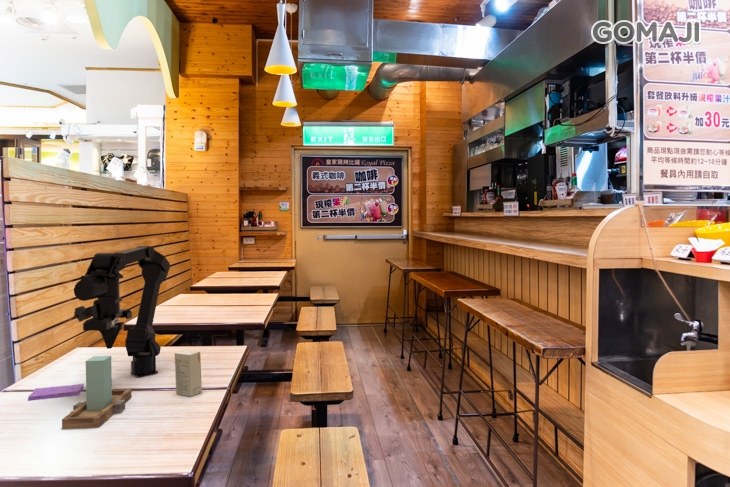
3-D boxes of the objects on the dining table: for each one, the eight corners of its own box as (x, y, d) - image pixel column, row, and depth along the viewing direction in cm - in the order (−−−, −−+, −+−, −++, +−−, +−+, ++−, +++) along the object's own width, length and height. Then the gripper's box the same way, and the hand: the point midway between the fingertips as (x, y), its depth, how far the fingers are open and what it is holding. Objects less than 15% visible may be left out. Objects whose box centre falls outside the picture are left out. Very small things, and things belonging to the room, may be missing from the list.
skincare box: (202, 392, 136) (201, 351, 136) (191, 397, 132) (190, 355, 132) (186, 389, 139) (185, 348, 139) (174, 393, 135) (174, 352, 135)
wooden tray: (94, 398, 131) (94, 389, 131) (137, 397, 132) (137, 388, 132) (55, 429, 111) (54, 418, 111) (105, 427, 113) (105, 416, 112)
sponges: (78, 397, 134) (78, 390, 134) (27, 402, 130) (26, 396, 130) (84, 389, 140) (84, 383, 140) (35, 394, 136) (35, 387, 136)
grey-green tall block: (94, 404, 124) (93, 356, 123) (112, 403, 124) (111, 355, 124) (86, 410, 119) (85, 360, 119) (104, 410, 120) (103, 360, 119)
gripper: (94, 291, 144) (95, 341, 145) (61, 301, 125) (63, 358, 126) (132, 290, 145) (132, 340, 146) (105, 300, 127) (106, 356, 127)
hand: (109, 348), depth 136 cm, fingers closed
